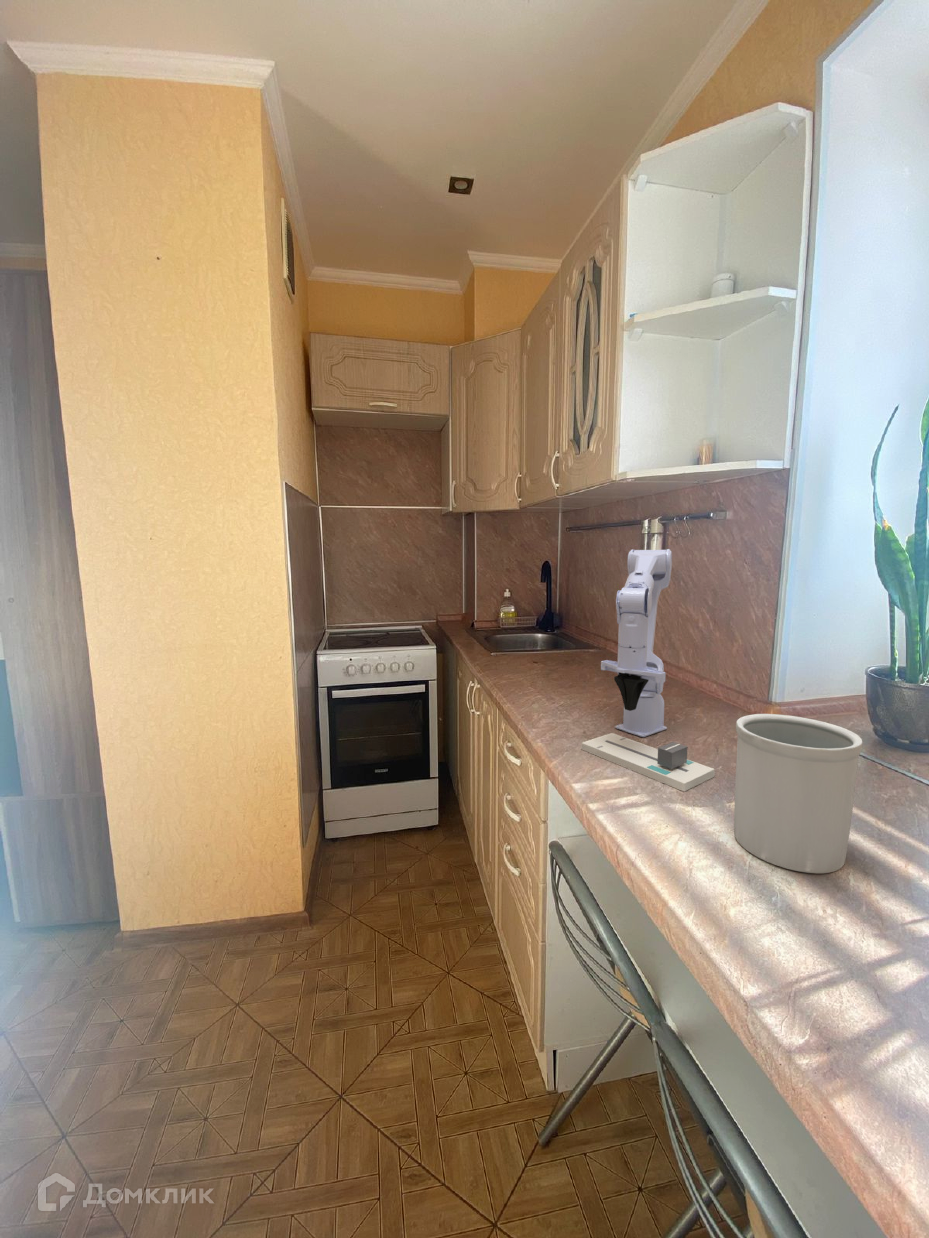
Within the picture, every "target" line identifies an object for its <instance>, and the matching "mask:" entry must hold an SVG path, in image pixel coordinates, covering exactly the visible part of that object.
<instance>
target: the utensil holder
mask: <svg viewBox="0 0 929 1238" xmlns="http://www.w3.org/2000/svg"><path fill="white" fill-rule="evenodd" d="M735 732H736V734H737V740H736V741H737V744H736V763H735V764H736V765H735V766H736V767H735V787H734V807H733V808H734V811H733V812H734V814H733V815H734V817H733V831H734V837H735V839H736V840H737V843H738V844H739V845H741V847H743V848H744V850H746V851H747V852H749V853H750V854H752V855H753V856H755V857H756V858H759V859H761V860H763V861H764V862H767V863H768V864H772V865H775V866H778V867H780V868H783V869H787V870H789V871H796V872H800V873H806V874H807V873H808V874H829V873H832V872H835V871H838V870H841V869H842V868H843V866H844V865H845V864H846V858H847V852H848V844H849V839H850V834H851V833H850V831H851V827H852V825H851V824H852V818H853V808H854V799H855V794H856V793H855V791H856V785H857V784H856V782H857V777H858V776H857V775H858V765H859V764H858V763H859V756H860V754H861V752H862V750H863V739H862V737H861V736H860V735H859V734H857V733H855V732H854V731H851V730H849V729H847V728H845V727H842V726H840V725H836V724H832V723H830V722H829V723H828V722H825V721H821V720H817V719H814V718H813V719H812V718H807V717H801V716H797V715H795V716H794V715H787V714H777V713H776V714H774V713H755V714H749V715H745V716H744V715H743V716H741V717H740V718H738V719H737V720H736V722H735Z"/></svg>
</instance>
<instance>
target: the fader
mask: <svg viewBox="0 0 929 1238" xmlns="http://www.w3.org/2000/svg"><path fill="white" fill-rule="evenodd" d="M657 749H658V761H657V764H659V765H662V766H664V767H667V768H670V769H673V768H675V767H678V766H680V765H682V764H685V763H687V759H688V749H689V747H688V746H687V745H685V744H682V743H678V742H675V741H672V742H670V743H667V744H664V745H662V746H659V747H657Z"/></svg>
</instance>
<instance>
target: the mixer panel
mask: <svg viewBox="0 0 929 1238" xmlns="http://www.w3.org/2000/svg"><path fill="white" fill-rule="evenodd" d="M580 746H581V747H580V749H581V750H582V751H584V752H587V753H588V754H589V753H590V754H592V755H594V756H595V757H596V756H597V757H599V758H602V759H604V760H606V761H609V762H611V763H614V764H616V765H619V766H621V767H623V768H625V769H628V770H630V771H633V772H635V773H638V774H640V775H643V776H645V777H648V778H650V779H652V780H654V781H657V782H660V783H662V784H665V785H667V786H669V787H672V788H674V789H677V790H679V791H682V792H686V791H689V790H690V789H692V788H694V787H696V786H698V785H700V784H703V783H704V782H707V781H708V780H711V779H713V778H715V776H716V775H715V773H716V772H715V771H716V769H715V768H713V767H710V766H708V765H704V764H701V763H699V762H696V761H693V760H690V759H688V758H687V763H685V764H682V765H680V766H678V767H675V768H673V769H670V768H667V767H664V766H662V765H659V764H657V761H658V748H655V747H653V746H651V745H647V744H644V743H641V742H639V741H637V740H633V739H630V738H628V737H625V736H622V735H619V734H616V733H614V732H610V733H607V734H604V735H600V736H597V737H595V738H592V739H589V740H586V741H581V745H580Z"/></svg>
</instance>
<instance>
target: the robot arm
mask: <svg viewBox="0 0 929 1238" xmlns="http://www.w3.org/2000/svg"><path fill="white" fill-rule="evenodd" d="M626 564H627V572H628V576H627V577H626V578H627V579H626V581H625V584H624V586H623V587H622V588H621V590H620V589H619V590H617V592H616V598H615V610H616V623H617V624H618V634H617V636H618V638H617V643H618V644H617V661H616V660H610V659H609V660H608V659H606V660H601V661H600V670H601V671H609V672H614V673H617V675H615V676H614V678H613V679H614V682H615V684H616V686H617V687H618V689H619V691H620V695H621V699H622V703H623V719H622V721H623V723H620V724H618V725H617V724H616V725H615V726H614V728H615V729H617V730H620V731H623V732H626V733H629V734H632V735H634V736H638V737H641V738H645V737H648V736H650V735H653V734H656V733H659V732H662V731H665V730H667V728H668V727H667V726H665V725H664V724H665V723H664V722H665V721H664V720H665V700H664V698H663V696H662V694H661V693H663V690H664V689H663V688H664V684H665V682H666V675H667V672H665V670H664V669H665V665H664V663H663V660H662V659H661V658H660V657H659V656H657V655H656V654H655V653H654V644H655V634H656V624H657V623H656V622H657V613H658V602H659V598H660V595H661V591H662V590H664V589H665V588H668V587H669V586H670V585H669V584H670V583H671V575H672V567H673V551H671V549H670V548H667V549H630V551H629V552H628V555H627V563H626Z"/></svg>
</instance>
